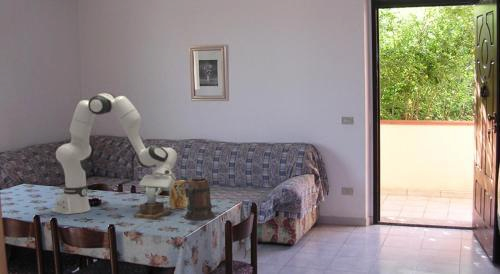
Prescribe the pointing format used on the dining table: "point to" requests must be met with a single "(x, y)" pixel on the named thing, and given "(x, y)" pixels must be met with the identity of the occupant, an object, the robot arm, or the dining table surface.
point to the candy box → (178, 195)
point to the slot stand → (152, 211)
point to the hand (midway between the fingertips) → (151, 195)
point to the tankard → (199, 200)
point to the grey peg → (151, 196)
